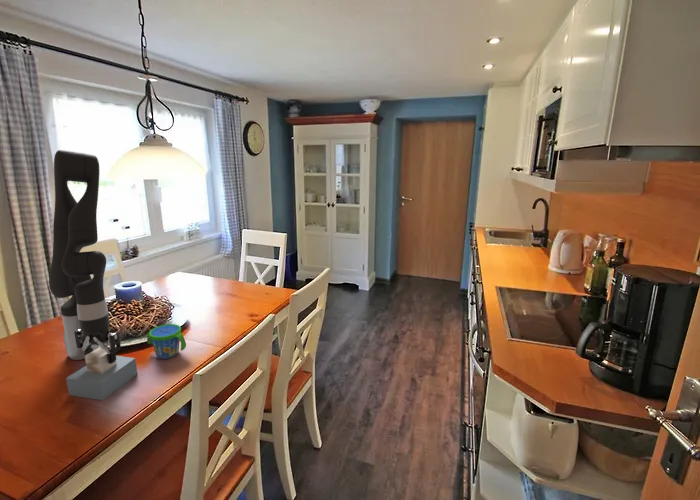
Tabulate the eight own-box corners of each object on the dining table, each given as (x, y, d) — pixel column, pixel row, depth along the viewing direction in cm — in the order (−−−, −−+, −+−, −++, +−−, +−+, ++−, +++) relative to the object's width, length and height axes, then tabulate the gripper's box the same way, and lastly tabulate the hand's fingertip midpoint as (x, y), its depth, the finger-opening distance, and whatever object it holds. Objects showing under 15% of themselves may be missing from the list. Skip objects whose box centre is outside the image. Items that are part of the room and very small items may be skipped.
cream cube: (87, 371, 110) (84, 356, 109) (102, 361, 115) (99, 347, 114) (102, 373, 109) (99, 358, 108) (116, 363, 114) (114, 349, 113)
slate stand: (69, 395, 108) (65, 378, 106) (106, 369, 121) (104, 354, 120) (102, 400, 106) (99, 383, 105) (137, 373, 119) (135, 358, 118)
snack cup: (194, 352, 134) (192, 328, 131) (171, 366, 124) (168, 341, 122) (164, 343, 139) (161, 320, 136) (140, 356, 130) (137, 332, 127)
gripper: (123, 311, 110) (129, 357, 114) (84, 307, 112) (92, 352, 116) (103, 321, 103) (111, 370, 107) (62, 317, 105) (71, 364, 109)
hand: (101, 360), depth 112 cm, fingers open, 7 cm apart
